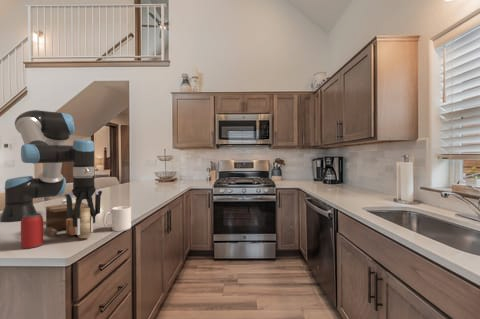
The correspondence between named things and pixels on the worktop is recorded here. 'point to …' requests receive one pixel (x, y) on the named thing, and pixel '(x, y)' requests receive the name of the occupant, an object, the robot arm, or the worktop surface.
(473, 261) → the worktop surface
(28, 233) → the beer can
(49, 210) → the cubby shelf
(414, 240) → the worktop surface
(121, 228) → the cup
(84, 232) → the tethered cylinder
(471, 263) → the worktop surface
